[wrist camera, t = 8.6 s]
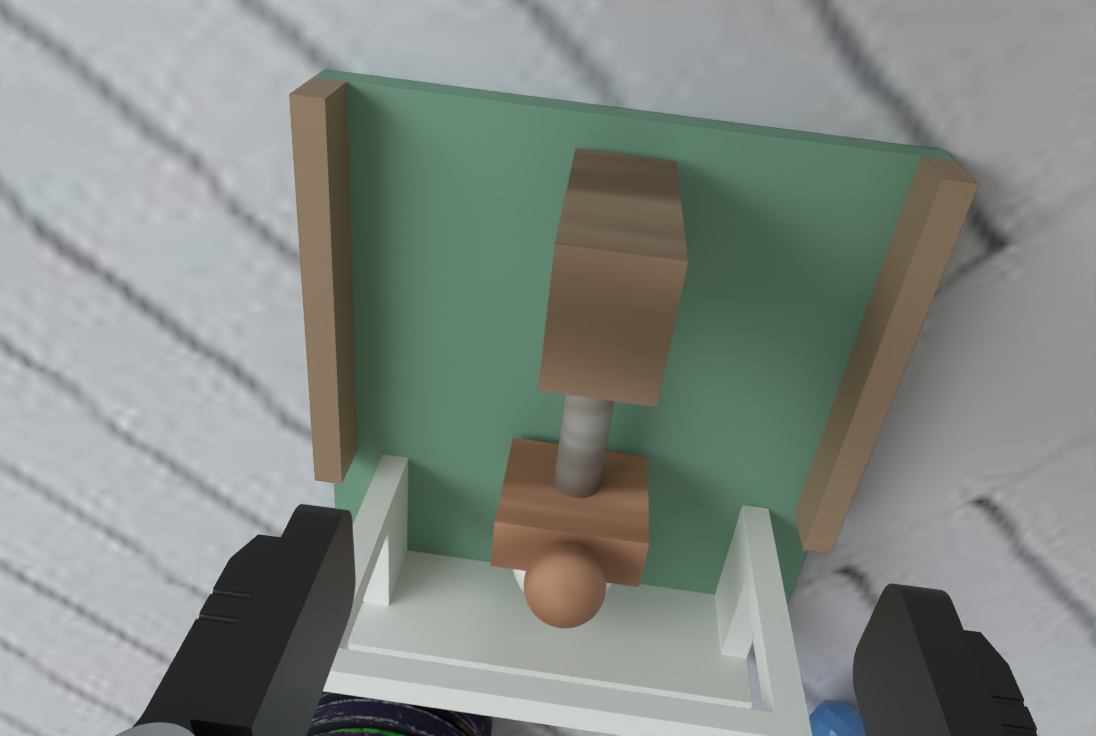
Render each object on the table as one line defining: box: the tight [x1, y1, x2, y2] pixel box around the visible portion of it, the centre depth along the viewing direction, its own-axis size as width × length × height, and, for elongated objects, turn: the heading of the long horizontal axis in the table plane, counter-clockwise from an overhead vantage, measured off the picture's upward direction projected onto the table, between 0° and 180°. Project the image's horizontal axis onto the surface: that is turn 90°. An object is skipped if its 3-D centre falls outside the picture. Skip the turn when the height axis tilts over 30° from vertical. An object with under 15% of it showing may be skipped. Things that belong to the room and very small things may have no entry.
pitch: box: [289, 70, 979, 736], centre depth 26 cm, size 20×19×11 cm
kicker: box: [491, 148, 688, 628], centre depth 25 cm, size 13×5×7 cm, turn 174°
